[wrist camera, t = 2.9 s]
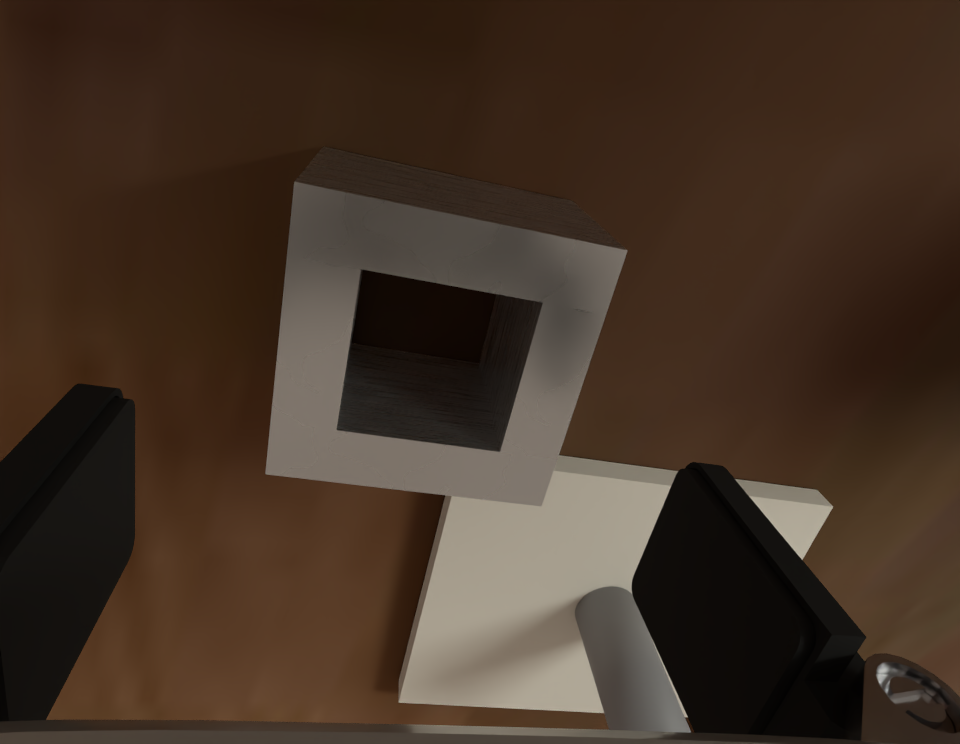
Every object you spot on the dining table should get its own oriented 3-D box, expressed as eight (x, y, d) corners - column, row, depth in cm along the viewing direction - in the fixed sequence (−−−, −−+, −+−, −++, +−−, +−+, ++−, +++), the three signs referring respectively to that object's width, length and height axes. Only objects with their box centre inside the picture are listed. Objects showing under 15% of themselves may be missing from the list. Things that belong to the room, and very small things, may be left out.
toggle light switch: (817, 489, 24) (960, 642, 18) (700, 697, 29) (780, 873, 23) (458, 441, 21) (481, 602, 15) (398, 680, 26) (397, 874, 20)
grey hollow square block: (572, 200, 18) (627, 250, 14) (512, 410, 21) (541, 506, 17) (323, 146, 17) (294, 181, 12) (296, 378, 20) (265, 474, 15)
